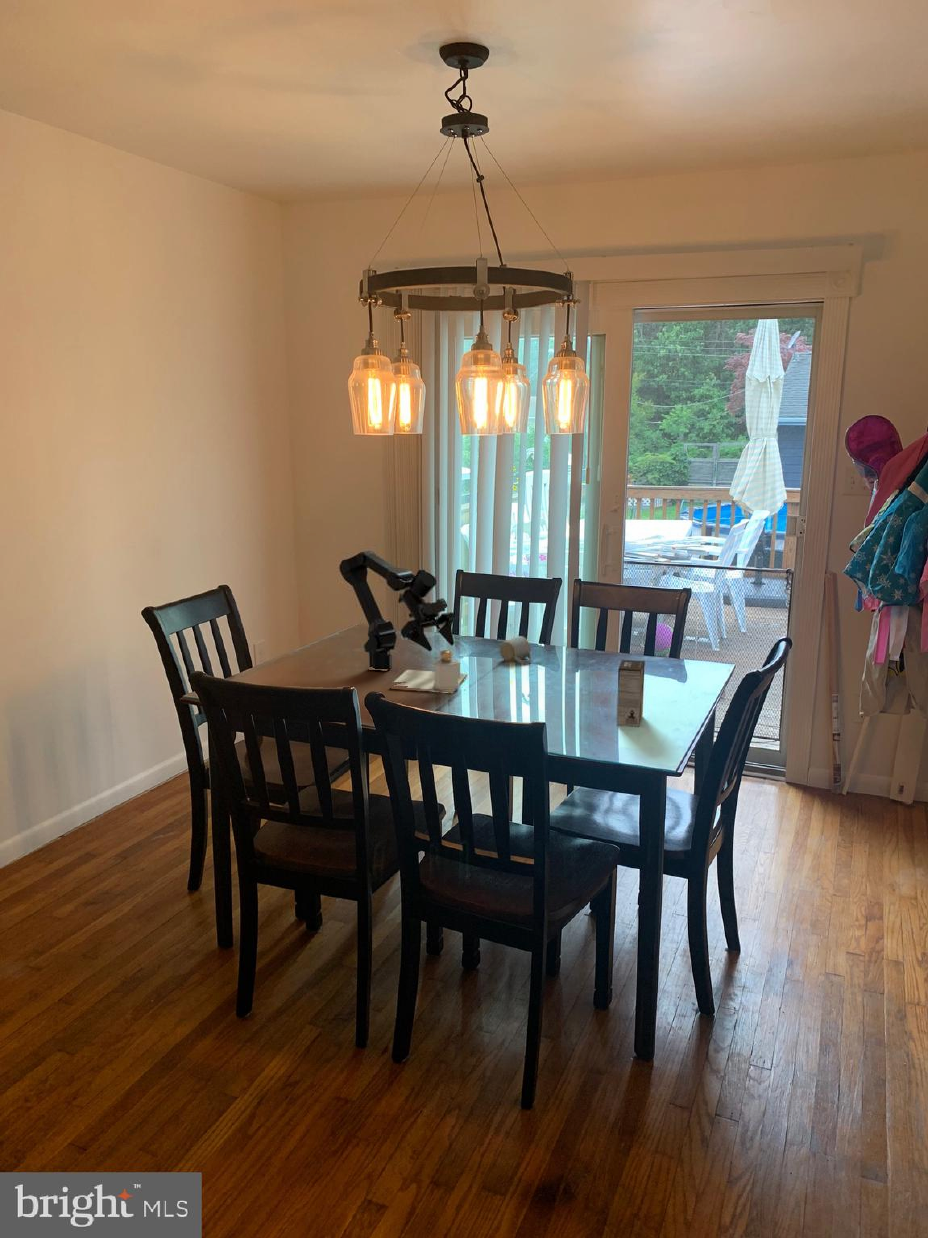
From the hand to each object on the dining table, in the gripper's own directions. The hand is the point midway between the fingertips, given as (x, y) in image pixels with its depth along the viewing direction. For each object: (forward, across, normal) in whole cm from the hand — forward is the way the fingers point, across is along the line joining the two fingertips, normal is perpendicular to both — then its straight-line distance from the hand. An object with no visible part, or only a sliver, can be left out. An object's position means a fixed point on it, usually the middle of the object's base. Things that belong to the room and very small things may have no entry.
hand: (442, 647), depth 269 cm
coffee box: (+50, +15, -32) cm, 61 cm away
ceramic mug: (+7, +39, +12) cm, 41 cm away
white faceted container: (+10, +1, +7) cm, 12 cm away
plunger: (+9, 0, +6) cm, 10 cm away
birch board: (+4, +1, +14) cm, 15 cm away
